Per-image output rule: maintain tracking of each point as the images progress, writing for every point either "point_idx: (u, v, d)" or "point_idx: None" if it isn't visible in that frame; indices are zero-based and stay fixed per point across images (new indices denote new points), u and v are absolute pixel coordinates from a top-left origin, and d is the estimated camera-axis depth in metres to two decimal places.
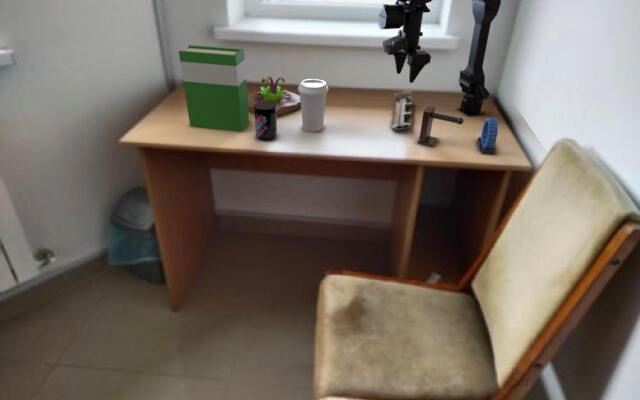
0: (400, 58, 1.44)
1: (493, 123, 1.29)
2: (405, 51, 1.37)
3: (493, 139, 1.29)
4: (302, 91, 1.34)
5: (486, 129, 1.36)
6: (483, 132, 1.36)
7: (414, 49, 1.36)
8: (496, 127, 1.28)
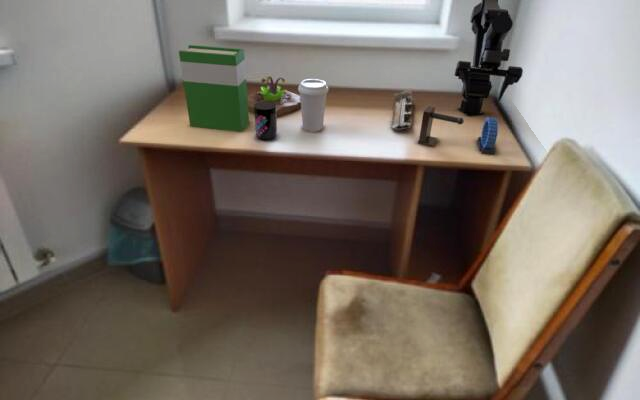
0: None
1: (493, 123, 1.29)
2: (491, 69, 1.31)
3: (493, 139, 1.29)
4: (302, 91, 1.34)
5: (486, 129, 1.36)
6: (483, 132, 1.36)
7: None
8: (496, 127, 1.28)
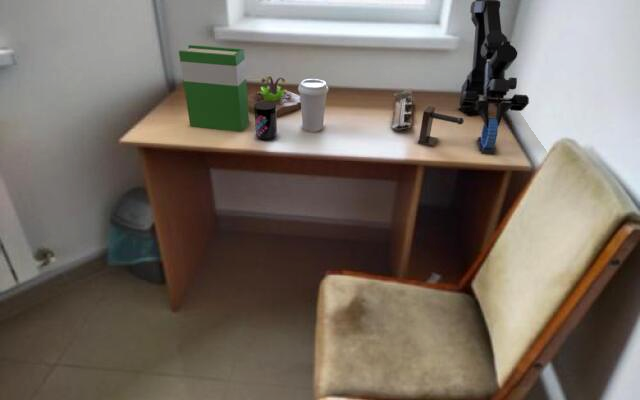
0: None
1: (493, 123, 1.29)
2: (509, 98, 1.30)
3: (493, 139, 1.29)
4: (302, 91, 1.34)
5: (486, 129, 1.36)
6: (483, 132, 1.36)
7: None
8: (496, 127, 1.28)
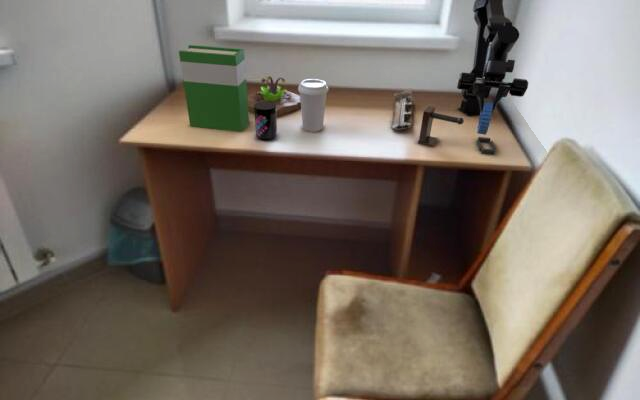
0: None
1: (488, 107, 1.25)
2: (507, 82, 1.25)
3: (486, 123, 1.25)
4: (302, 91, 1.34)
5: None
6: (480, 117, 1.32)
7: None
8: (490, 110, 1.24)
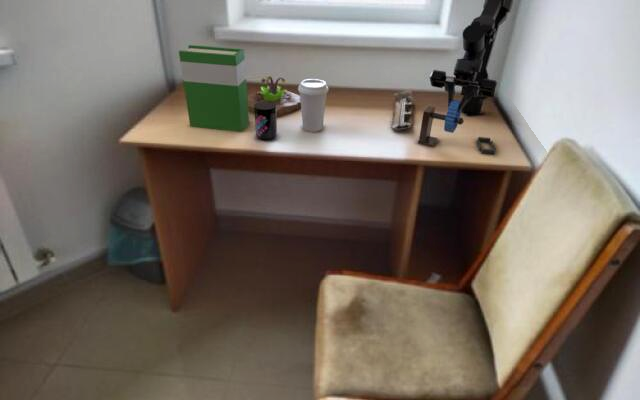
0: (453, 93, 1.29)
1: (453, 105, 1.26)
2: (477, 82, 1.25)
3: (450, 121, 1.26)
4: (302, 91, 1.34)
5: (455, 113, 1.32)
6: None
7: (473, 82, 1.28)
8: (455, 108, 1.25)
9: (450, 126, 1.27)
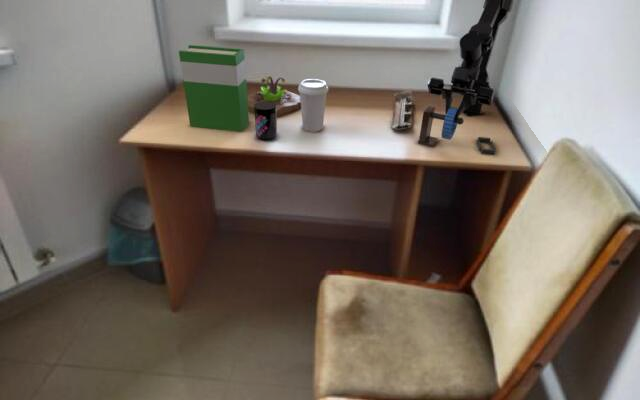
0: (450, 101, 1.30)
1: (451, 112, 1.27)
2: (474, 90, 1.27)
3: (447, 128, 1.27)
4: (302, 91, 1.34)
5: None
6: None
7: None
8: (452, 116, 1.27)
9: (447, 133, 1.28)
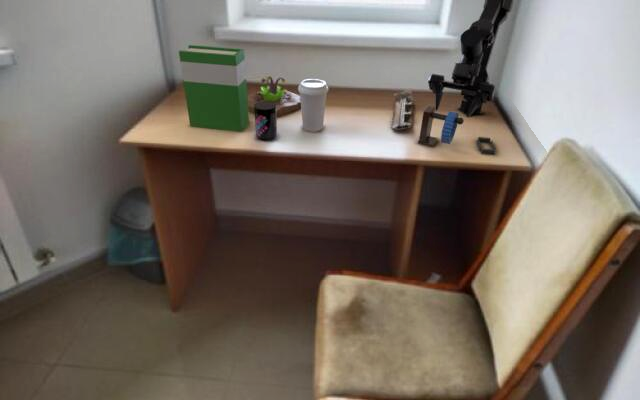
0: (440, 95, 1.31)
1: (450, 116, 1.28)
2: (464, 84, 1.27)
3: (447, 132, 1.28)
4: (302, 91, 1.34)
5: None
6: None
7: (471, 86, 1.28)
8: (451, 120, 1.27)
9: (447, 137, 1.29)
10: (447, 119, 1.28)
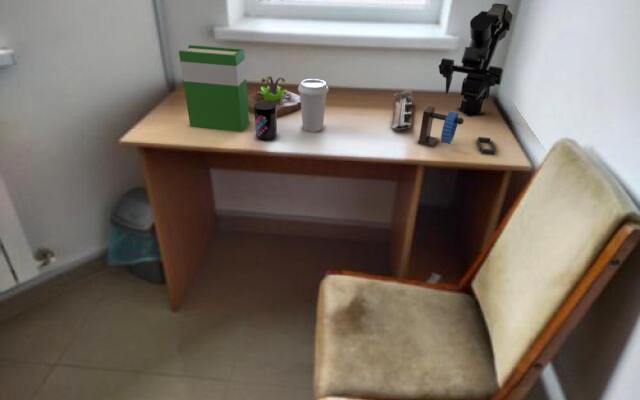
0: (450, 78, 1.36)
1: (450, 116, 1.28)
2: (473, 68, 1.33)
3: (447, 132, 1.28)
4: (302, 91, 1.34)
5: None
6: None
7: None
8: (451, 120, 1.27)
9: (447, 137, 1.29)
10: (447, 119, 1.28)
